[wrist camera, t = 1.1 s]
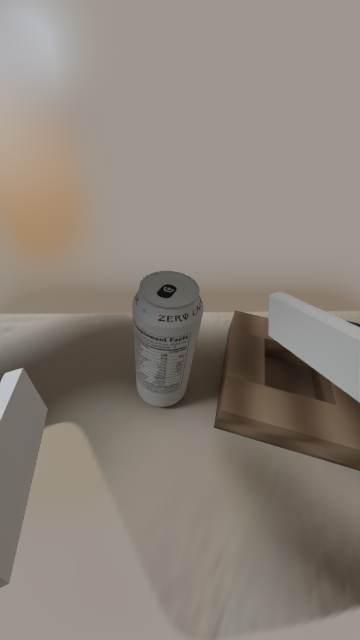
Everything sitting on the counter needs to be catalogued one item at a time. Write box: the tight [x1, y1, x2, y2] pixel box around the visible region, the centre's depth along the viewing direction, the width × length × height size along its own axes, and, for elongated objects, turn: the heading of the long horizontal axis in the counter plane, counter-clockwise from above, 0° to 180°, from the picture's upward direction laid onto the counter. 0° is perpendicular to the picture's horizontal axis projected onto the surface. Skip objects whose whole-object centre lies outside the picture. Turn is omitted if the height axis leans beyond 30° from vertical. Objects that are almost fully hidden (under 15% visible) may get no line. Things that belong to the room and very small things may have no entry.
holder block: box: [214, 311, 360, 471], centre depth 30 cm, size 16×16×4 cm
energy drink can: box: [132, 271, 203, 407], centre depth 24 cm, size 6×6×15 cm
